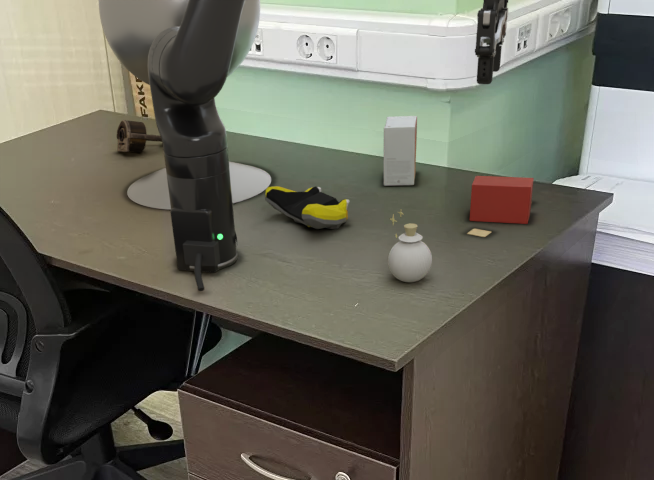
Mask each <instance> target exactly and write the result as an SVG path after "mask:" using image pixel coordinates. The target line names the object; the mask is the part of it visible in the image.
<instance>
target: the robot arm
mask: <svg viewBox="0 0 654 480" xmlns="http://www.w3.org/2000/svg"><path fill="white" fill-rule="evenodd" d="M244 2H245V0H189V2H188V5H187V8H186V11H185V14H184V17H183V20H182V22H181V25H180V26H177V27H171V28H168V29H166V30H164V31H162V32H161V33H160V34H159V35H158V36H157V37H156V38H155V39H154V41H153V43H152V45H151V47H150V50H149V54H148V75H149V83H150V85H149V88H150V94H151V101H152V109H153V115H154V119H155V124H156V128H157V131H158V133H159V136H161V139H162V142H161V143H162V150H163V155H164V165H165V167H166V174H167V182H168V189H169V197H170V205H171V210H170V211H169V212H170V220H171V227H172V235H173V245H174V250H175V251H174V252H175V260H176V266H177V270H178V271H188V272H194V279H195V283H196V287H197V291H198V292H203V291H205V285H204V281H203V277H202V273H213V274H214V273H216V272H217V271H220V270H221V269H225V268H227V267H230V266H232V265H233V264H234V263H236V262H237V260H238V258H239V252H238V250H237V249H238V248H237V246H238V235H237V233H236V227H235V215H234V203H232V192H231V181H230V169H229V161H230V158H229V157H230V156H229V147H228V136H227V130H226V126H225V124H224V123H223V120H222V119H221V116H220V114H219V112H218V108H217V104H216V97H217V96H218V95H219V94H220V92H221V90H222V89H223V88H224V85H225V84H226V81H227V78H228V77H227V75H228V72H229V68H230V64H231V59H232V54H233V49H234V44H235V40H236V35H237V31H238V26H239V21H240V17H241V13H242V9H243V5H244ZM508 3H509V0H483V3H482V7H481V8H480V9H479V10H478V11H477V14H476V15H477V16H476V21H477V25H476V34H475V48H474V53H475V56H476V58H477V68H476V72H477V73H476V83H477V84H478V85H490V84H492V82H493V77H494V73H495V72H499V70H500V69H501V58H502V48H503V47H502V46H503V45H504V42H505V37H506V36H507V27H508V23H507V21H508V17H509V7H508ZM484 44H486V45H484Z"/></svg>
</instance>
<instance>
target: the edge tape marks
mask: <svg viewBox="0 0 654 480" xmlns="http://www.w3.org/2000/svg"><path fill="white" fill-rule="evenodd" d="M531 204H533V201H531ZM491 233H492V231H491V230H484V229H479V228H472V229H471V230H470V231H468V232H467V233H466V235H469V236H476V237H480V238H486V237H487V236H489V235H490V234H491Z"/></svg>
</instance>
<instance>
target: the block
mask: <svg viewBox="0 0 654 480" xmlns="http://www.w3.org/2000/svg"><path fill="white" fill-rule="evenodd" d="M534 179H535V178H534V177H523V176H521V177H519V176H517V177H516V176H494V175H475V177H474V179H473V182H472V184H471V190H470V193H471V194H470V208H469V221H470V222H484V223H500V224H501V223H502V224H519V225H528V224H529V220H530V216H531V209H532V203H531V202H532V200H533V198H532V197H533V189H534V181H535V180H534Z"/></svg>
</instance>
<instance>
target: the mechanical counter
mask: <svg viewBox="0 0 654 480" xmlns="http://www.w3.org/2000/svg"><path fill="white" fill-rule="evenodd" d="M116 140H117V148H116V149H117V152H118V153H119V152H120V153H122V152H123V153H124V152H125V153H128V152H131V153H132V152H133V153H143V152H144V150H145V148H146V145H147V142H161V143H162V139H161V136H160V135H157V134H147V127H146V124H145V122H143V121H136V120H135V121H134V120H128V119H122V120H121V121H120V122H119V124H118V127H117V130H116Z"/></svg>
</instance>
